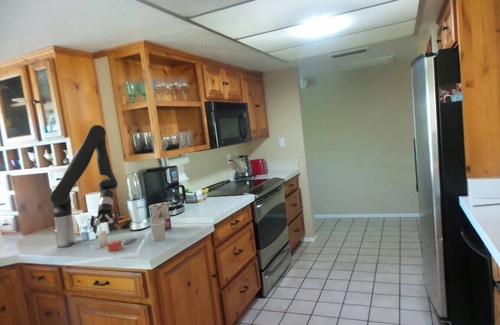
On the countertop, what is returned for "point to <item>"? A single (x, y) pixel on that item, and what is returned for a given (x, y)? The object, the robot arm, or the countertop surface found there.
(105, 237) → the pawn
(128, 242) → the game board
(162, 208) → the candy bar box
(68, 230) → the robot arm
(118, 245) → the red die
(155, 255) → the countertop surface
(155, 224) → the dixie cup
